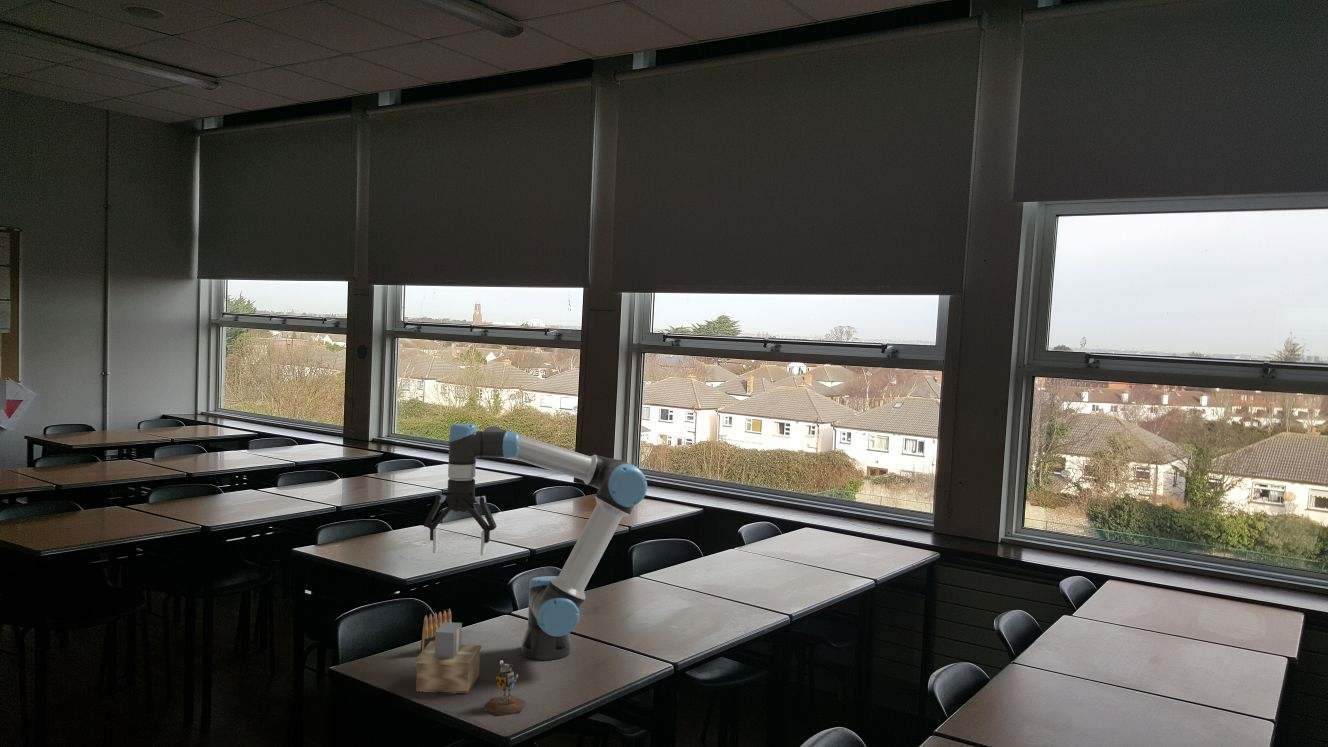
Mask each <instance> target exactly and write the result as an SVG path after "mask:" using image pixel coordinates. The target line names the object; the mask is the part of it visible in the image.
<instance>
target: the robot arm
mask: <svg viewBox="0 0 1328 747" xmlns="http://www.w3.org/2000/svg"><path fill="white" fill-rule="evenodd" d="M477 458H505V459H507V458H510V459H514V460H517V461H519V462H523V463H527V464H530V465H534V466H535V467H540V468H543V469H547V470H550V471H552V472H556V473H559V474H563V475H565V476H569V477H572V478H575V479H579V480H581V481H583V482H584V484H585V485H588V486H590V487H592V488H596V489H597V492H596V494H595V496H594V498H595V502H596V505H595V507H594V508H593V511H592V513H591V514H590V517H589V518H588V520H587V521H586V524H585V526H584V528H583V529H582V531H581V533H580V534H579V535H580V536H579V537H578V539H577V541H576V543H575V544H574V546H573V549H572V550H571V552H570V554H569V556H568V558H567V560H566V561H565V563H564V565H563V567H562V568H561V571H560V572H559V574H558V576H557V575H556V576H555V575H553V576H552V575H548V576H545V575H544V576H537V577H533V578H531V579H530V581H529V586H528V613H527V615H528V618H527V620H528V621H527V623H528V624H527V629H526V632H525V635H524V637H523V640H522V643H521V651H520V652H521V654H522V656H524V657H526V658H529V659H533V660H540V661H541V660H542V661H549V660H551V661H552V660H556V659H557V660H558V659H563V658H566V657H567V656H569V655H570V654H571V651H572V645H571V644H572V643H571V640H570V636H569V634H570V633H571V632H573V631H574V630H575V628H576V627H577V625H578V623H579V620H580V610H581V607H582V605H583V604H584V601H585V600H586V595H585V589H586V587H587V586H588V584H589V581H590V579H591V577H592V575H593V574H594V572H595V570H596V568H597V566H598V564H599V563H600V560H601V558H603V555H604V553H605V551H606V550H607V547H608V545H609V544H610V541H611V540H612V538H613V536H614V534H615V533H616V530H617V529H618V527H619V524H620V522H621V521H622V520H623V518H626V517H628V516H630V515H631V513H632V511H633V509H634V508H635V506H636V505H639V503H640V502H642V501H643V500H644V498H645V496H646V495H647V491H648V482H647V478H646V476H645V474H644V473H643V471H642V470H640V468H638V467H637V466H636V465H633V464H631V463H629V462H627V461H625V460H622V459H618V458H617V459H615V458H611V457H605V456H600V455H598V454H593V455H591V456H590V455H586V454H583V453H580V452H577V451H573V450H570V449H567V448H564V447H561V446H557V445H555V444H551V443H548V442H545V441H542V440H538V439H535V438H532V437H529V436H527V435H526V436H525V435H522V434H520V433H518V432H517V431H510V430H506V429H503V428H501V427H499V426H496V425H493V426H492V425H491V426H488V427H486V428H484V429H483V430H478V426H477V425H476V424H474V423H453V424H452V425H450V428H449V436H448V466H447V469H448V470H447V477H448V479H447V494H446V495H445V494H442V493H439V494H437V495H436V496H435V500H434V504H433V506H432V508H431V510H430V512H429V514H428V515H427V517H426V519H425V521H424V523H423V527H424V528H427V529H429V540H430V541H432V554H436V553H438V552H439V539H440V536H439V535H440V528H438V526H439V525H440V524H441V522H442V521H443V520H444V519H445V518H446V517H447V516H448V515H449V514H450V512H452V511H453V512H461V513H467V512H468V513H469V514H470V515H471V516H472V518H473V519H474V520H475V521H476V522H477V524H478V525H479V527H480V528H481V529H482V531H481V532H480V534H481V535H480V556H484V555H486V553H487V552H486V551H487V549H486V548H487V545H486V544H488V543H490V540H491V539H490V535H491V534H490V532H491V531H494V530H495V529H496V528H497V524H496V522H495V519H494V517H493V515H492V513H491V510H490V508H489V505H488V504H487V496H486V495H482V496H476V480H475V477H476V467H477V465H476V463H477V461H476V459H477ZM445 501H446V503H447V504H448V505H447V507H446V508H445V509H444V510H443V511H442V512H441V513H440V515H439V516H438V517H437V518H436V519H435V520H434V518H435V516H436V514H437V512H438V511H439V508H440V507H441V505H442V503H444V502H445ZM476 502H477V505H479V506H480V509H481V511H482V513H483V515H484V517H485V519H486V520H485V519H484V518H483V516H482V515H481V514H480V513H479V511H478V510H477V508H476V507H475V505H474V504H475V503H476ZM433 520H434V522H433Z"/></svg>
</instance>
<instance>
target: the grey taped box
mask: <svg viewBox="0 0 1328 747" xmlns="http://www.w3.org/2000/svg"><path fill="white" fill-rule="evenodd" d="M462 628H463V622H444V623H443V624H442V625H441V626H440V627H439V629H438V630H437V631H436V632H435V658H454V657H455V655H456V654H457V653H458V651H459V650H460V649H461V644H462V637H463V636H462V633H463V632H462V631H463V630H462Z"/></svg>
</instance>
